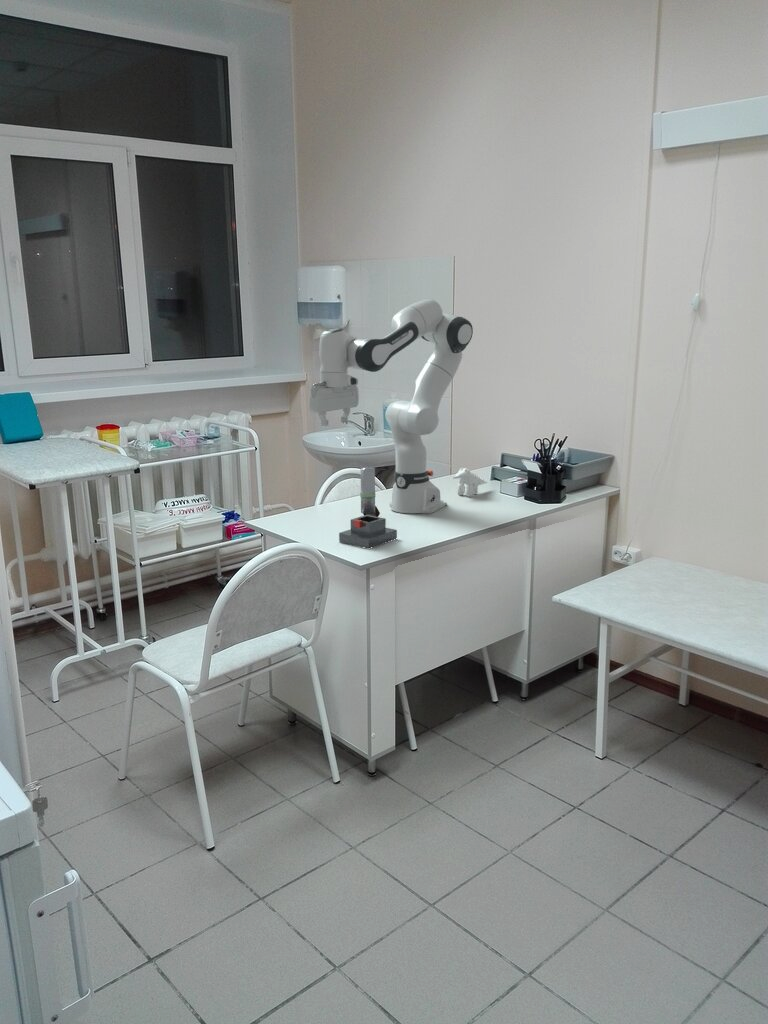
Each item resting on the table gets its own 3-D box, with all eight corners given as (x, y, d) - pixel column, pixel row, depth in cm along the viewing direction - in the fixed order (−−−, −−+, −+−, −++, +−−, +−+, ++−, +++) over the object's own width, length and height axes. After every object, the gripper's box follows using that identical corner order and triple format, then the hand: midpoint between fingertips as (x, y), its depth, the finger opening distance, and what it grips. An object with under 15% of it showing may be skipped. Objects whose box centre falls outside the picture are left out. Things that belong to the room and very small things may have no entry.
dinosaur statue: (444, 496, 313) (446, 467, 311) (479, 492, 331) (482, 465, 329) (459, 499, 309) (461, 470, 307) (493, 494, 327) (496, 467, 325)
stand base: (367, 532, 267) (367, 510, 265) (396, 538, 259) (396, 516, 258) (339, 542, 256) (338, 518, 254) (368, 548, 249) (368, 525, 247)
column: (367, 509, 259) (366, 466, 255) (378, 511, 256) (378, 468, 252) (357, 512, 255) (357, 468, 252) (369, 514, 252) (368, 470, 249)
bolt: (368, 536, 270) (369, 522, 284) (382, 528, 269) (382, 515, 284) (359, 521, 268) (361, 509, 283) (373, 514, 268) (373, 502, 282)
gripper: (318, 383, 251) (320, 428, 254) (361, 379, 266) (362, 421, 269) (304, 382, 254) (305, 426, 258) (347, 378, 270) (347, 419, 273)
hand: (334, 423), depth 264 cm, fingers open, 8 cm apart
